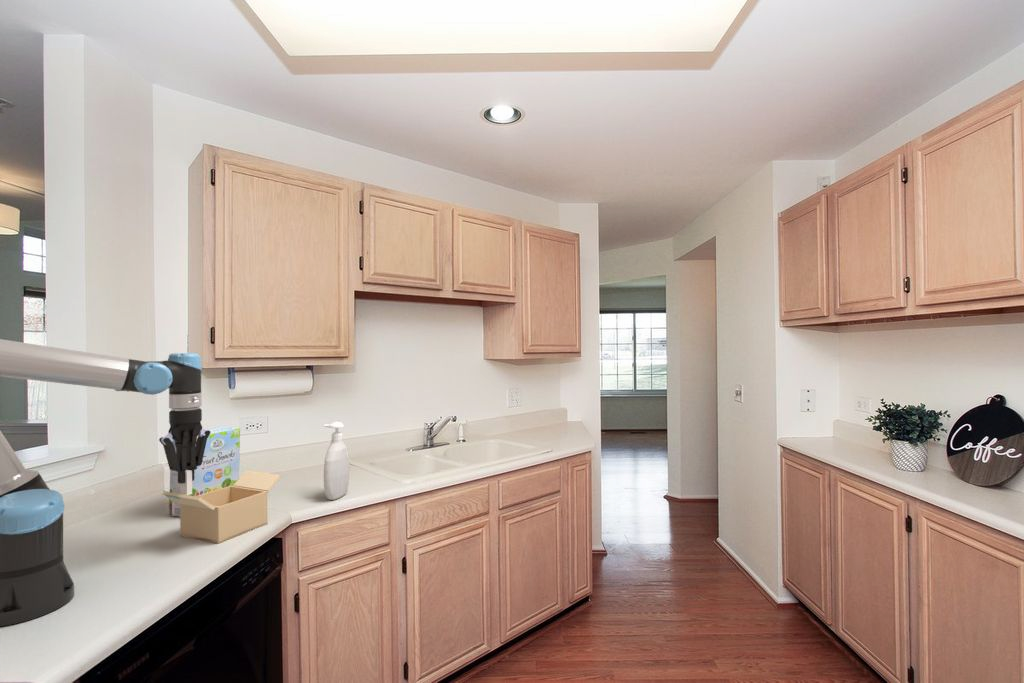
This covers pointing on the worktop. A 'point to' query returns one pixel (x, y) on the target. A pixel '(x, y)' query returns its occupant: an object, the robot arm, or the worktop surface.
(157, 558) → the worktop surface
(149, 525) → the worktop surface
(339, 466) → the soap bottle
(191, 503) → the flap
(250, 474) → the flap
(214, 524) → the carton
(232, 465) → the snack box
